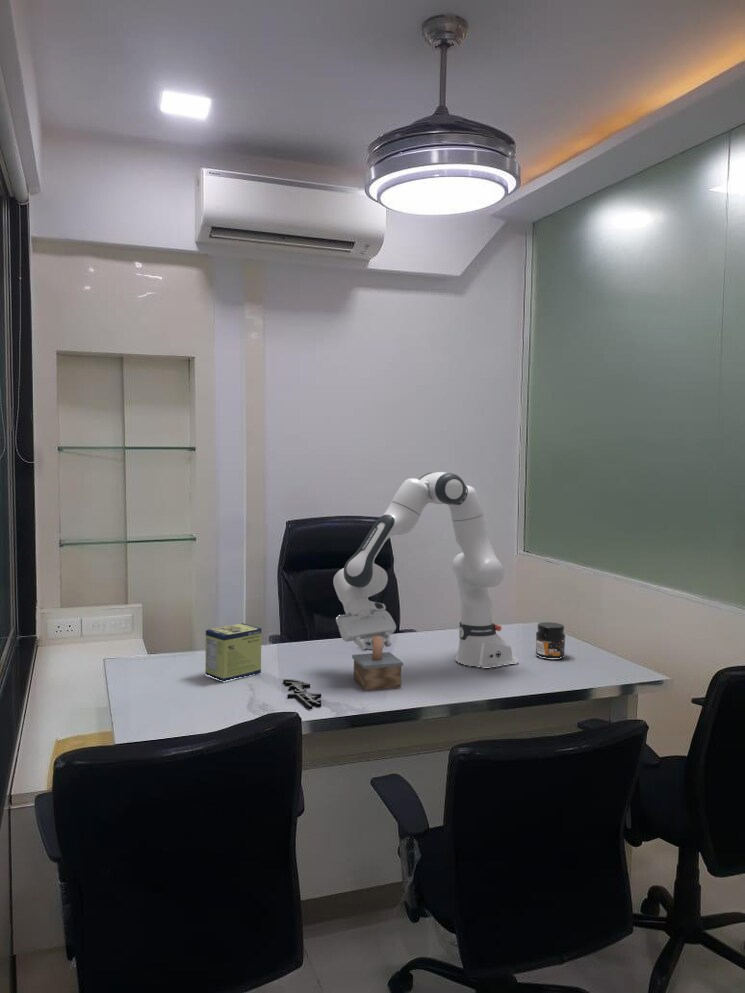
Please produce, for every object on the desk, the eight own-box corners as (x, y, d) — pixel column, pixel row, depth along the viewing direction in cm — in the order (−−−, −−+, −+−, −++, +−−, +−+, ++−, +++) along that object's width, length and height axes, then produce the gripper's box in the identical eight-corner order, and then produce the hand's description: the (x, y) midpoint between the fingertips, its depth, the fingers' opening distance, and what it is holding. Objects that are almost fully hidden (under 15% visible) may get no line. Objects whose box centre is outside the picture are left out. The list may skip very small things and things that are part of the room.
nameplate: (271, 680, 241) (301, 677, 245) (271, 685, 241) (301, 681, 245) (301, 707, 216) (334, 703, 220) (301, 712, 216) (333, 708, 221)
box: (388, 676, 251) (388, 655, 251) (400, 687, 240) (401, 665, 240) (353, 679, 248) (354, 658, 247) (364, 690, 236) (365, 668, 236)
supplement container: (535, 659, 275) (535, 627, 274) (535, 652, 285) (536, 620, 285) (564, 661, 273) (565, 629, 272) (564, 654, 283) (565, 622, 282)
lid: (389, 659, 252) (389, 631, 251) (403, 670, 239) (403, 640, 239) (352, 662, 248) (352, 633, 247) (364, 673, 235) (364, 643, 235)
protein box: (261, 673, 252) (262, 627, 251) (223, 683, 241) (223, 635, 240) (242, 667, 259) (243, 622, 258) (204, 676, 248) (204, 629, 247)
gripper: (337, 610, 242) (354, 646, 235) (388, 603, 255) (405, 638, 247) (329, 621, 246) (346, 657, 239) (380, 614, 258) (397, 648, 251)
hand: (377, 647), depth 243 cm, fingers open, 8 cm apart
